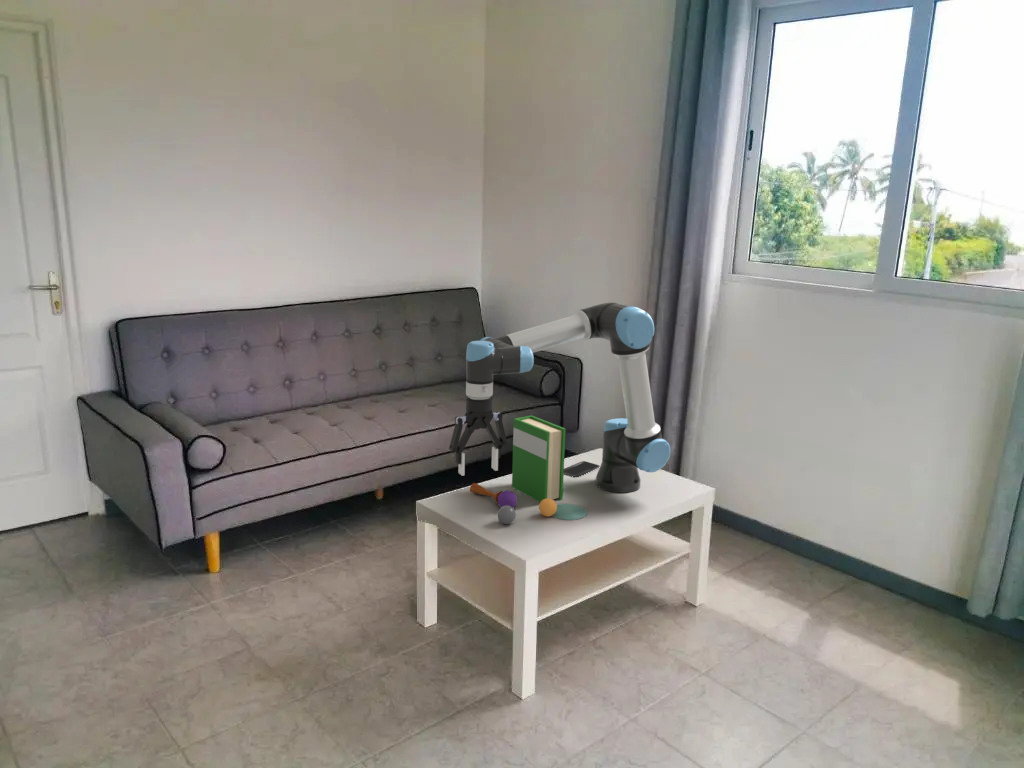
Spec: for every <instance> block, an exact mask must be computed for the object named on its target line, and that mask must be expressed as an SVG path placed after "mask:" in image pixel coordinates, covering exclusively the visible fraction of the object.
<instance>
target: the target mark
mask: <svg viewBox="0 0 1024 768" xmlns="http://www.w3.org/2000/svg"><path fill="white" fill-rule="evenodd" d="M556 505H557V510H556V512H555V514H554V515H552V516H551V517H553V518H555V519H557V520H562V521H563V520H564V521H575V520H576V519H577V520H580V518H581V519H583V518H585V517H586V516H587V513H588V511H587V510H586V509H585V508H584V507H582V506H580V505H576V504H572V503H559V504H556ZM584 516H585V517H584ZM582 517H583V518H582Z"/></svg>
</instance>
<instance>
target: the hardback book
mask: <svg viewBox="0 0 1024 768" xmlns="http://www.w3.org/2000/svg"><path fill="white" fill-rule="evenodd" d="M566 431H567V430H566V427H562V426H560V425H557V424H555V423H552V422H549V421H547V420H544V419H542V418H539V417H537V416H534V415H526V416H521V417H516V418H513V434H512V435H513V437H512V439H513V440H512V465H511V466H512V468H511V469H512V470H511V473H512V474H511V475H512V477H511V488H513V489H514V490H516V489H517V491H518V490H519V492H520V493H522V494H524V495H526V496H527V497H530V498H532V499H533V500H536V501H537V502H539V503H540V502H541V501H542V500H543V499H546V498H550V499H552V500H555V499H557V500H559V501H563V498H564V497H563V496H564V493H563V492H564V475H565V474H564V469H565V453H566V452H565V451H566V449H565V448H566Z"/></svg>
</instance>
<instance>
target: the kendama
mask: <svg viewBox="0 0 1024 768" xmlns="http://www.w3.org/2000/svg"><path fill="white" fill-rule="evenodd" d="M469 491H470V493H471V494H476V495H477V494H478V495H483V496H485V497H487V496H488V497H492V498H493V499H494V502H495V503H497V505H498V506H499V508H501V507H503V506H511V507H512V508H514V509H515V507H516V505H517V502H518V498H517V495H516V493H515V492H514V491H511V490H507V489H506V490H503V491H502V490H500V491H498V492H497V491H496V492H495V493H494V492H493V491H490V490H489V489H487V488H485V487H483V486H482V485H479V484H477V483H476V482H473V483H472V484H471V485H470V486H469Z"/></svg>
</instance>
